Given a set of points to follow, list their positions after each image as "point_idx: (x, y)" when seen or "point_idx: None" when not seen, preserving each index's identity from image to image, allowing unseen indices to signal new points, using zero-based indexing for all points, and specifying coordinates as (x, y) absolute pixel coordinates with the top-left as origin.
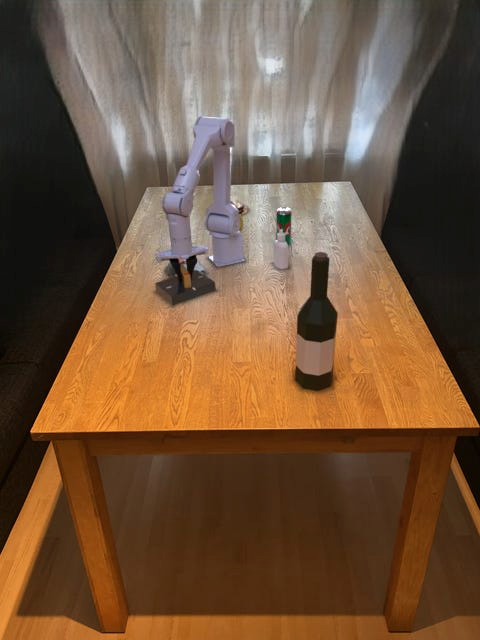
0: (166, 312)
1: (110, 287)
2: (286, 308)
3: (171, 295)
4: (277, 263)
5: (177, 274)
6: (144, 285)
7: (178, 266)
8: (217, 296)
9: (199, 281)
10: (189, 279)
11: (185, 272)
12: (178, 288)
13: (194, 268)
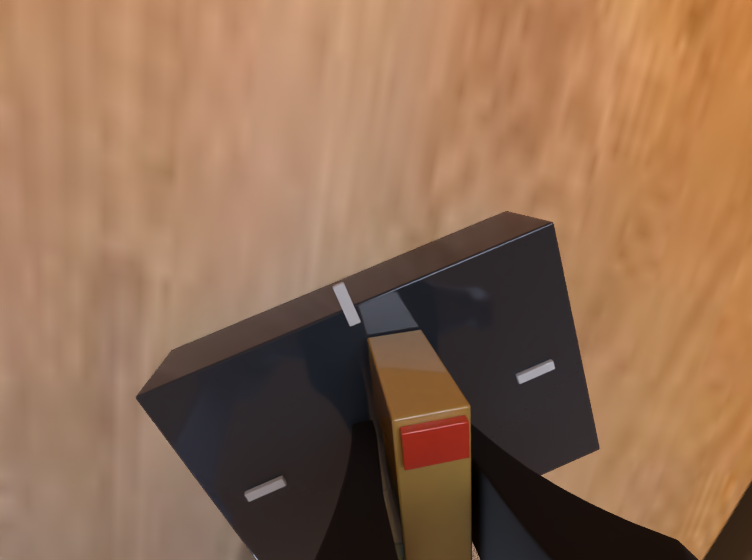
0: (564, 131)
1: (734, 478)
2: None
3: (549, 240)
4: None
5: (515, 459)
6: (590, 479)
7: (583, 547)
8: (158, 270)
9: (281, 424)
10: (392, 380)
11: (434, 478)
12: (470, 343)
13: None
